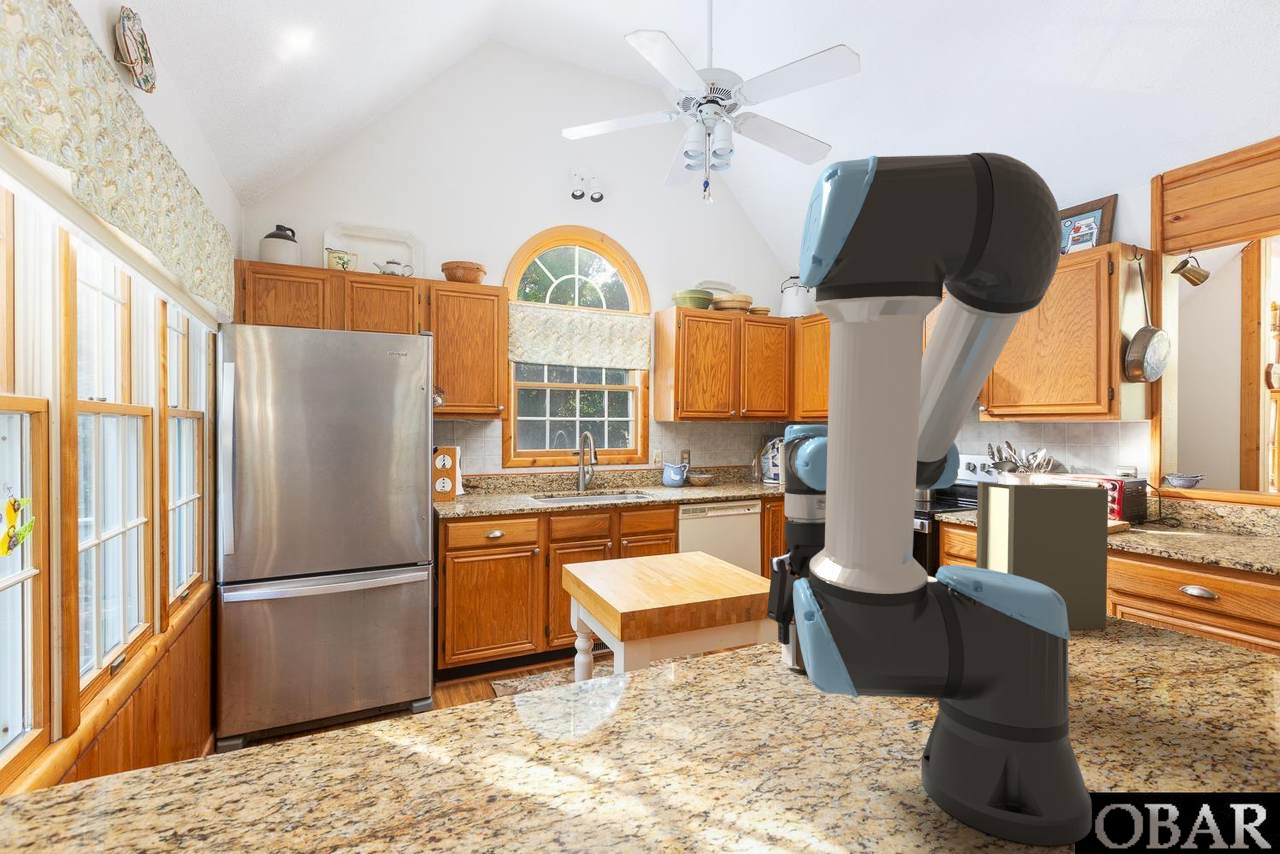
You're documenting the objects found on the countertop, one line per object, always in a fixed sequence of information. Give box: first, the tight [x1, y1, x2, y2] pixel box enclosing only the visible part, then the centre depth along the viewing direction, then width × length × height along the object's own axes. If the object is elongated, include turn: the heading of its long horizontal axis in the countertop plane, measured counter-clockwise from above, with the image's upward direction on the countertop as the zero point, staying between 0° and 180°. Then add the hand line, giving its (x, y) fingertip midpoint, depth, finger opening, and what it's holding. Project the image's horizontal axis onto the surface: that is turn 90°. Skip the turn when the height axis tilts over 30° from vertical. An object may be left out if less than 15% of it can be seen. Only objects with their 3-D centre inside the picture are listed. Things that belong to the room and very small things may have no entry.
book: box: [975, 480, 1109, 631], centre depth 118 cm, size 22×9×28 cm, turn 100°
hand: (809, 659), depth 98 cm, fingers closed on mug, 7 cm apart
